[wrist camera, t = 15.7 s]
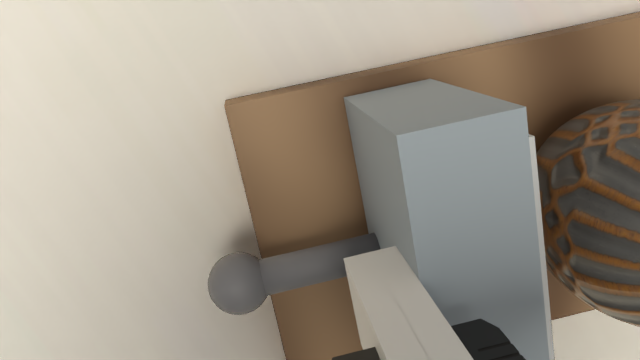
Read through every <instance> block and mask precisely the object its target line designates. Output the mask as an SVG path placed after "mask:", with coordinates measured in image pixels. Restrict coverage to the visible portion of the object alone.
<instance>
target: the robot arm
mask: <svg viewBox="0 0 640 360" xmlns="http://www.w3.org/2000/svg"><path fill="white" fill-rule="evenodd" d="M343 259H344V263H345V268H346V273H347V278H348V283H349V288H350V293H351V298H352V303H353V308H354V313H355V318H356V322H357V327H358V332H359V337H360V342H361V346H362V348H363V350H360V351H356V352H352V353H348V354H344V355H340V356H336V357H333V358H332V360H526V359H525V358H524V357H523V356H522V355H520V353H519V351H518V350H517V349H516V347H515V346H514V345H513V344H511V343H510V340H509V339H508V338H507V337H506V336H505V334H504V333H503V332H502V331H501V330H500V328H498V327H496V326H495V325H493V324H491V323H489V322H487V321H485V320H483V319H481V318H480V319H476V320H473V321H469V322H465V323H461V324H457V325H453V326H450V324H449V323H448V322H447V320H446V319H445V317H444V316H443V314H442V313H441V311H440V310H439V308H438V307H437V306H436V304H435V303H434V301H433V300H432V298H431V297H430V295H429V294H428V292H427V291H426V289H425V288H424V287H423V285H422V284H421V282H420V281H419V279H418V278H417V276H416V275H415V273H414V272H413V271H412V269H411V268H410V266H409V265H408V263H407V262H406V260H405V259H404V257H403V256H402V255H401V253H400V252H399V250H398V249H397V247H396V246H393V247H388V248H384V249H380V250H376V251H372V252H368V253H363V254H359V255H355V256H351V257H347V258H343Z"/></svg>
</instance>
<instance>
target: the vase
mask: <svg viewBox="0 0 640 360" xmlns="http://www.w3.org/2000/svg"><path fill="white" fill-rule="evenodd" d="M536 157H537V169H538V180H539V191H540V202H541V213H542V224H543V235H544V246H545V258H546V267H547V269H548V270H549V271H550V272H551V273H552V274H553V275H554V276H555V277H556V279H557V280H558V281H559V282H560V283H561V284H562V285H564V286H565V287H566V288H567V289H568V290H569V291H570V292H572V293H573V294H574V295H575V296H577V297H578V298H579V299H581V300H582V301H583V302H585V303H586V304H588V305H589V306H591V307H593V308H595V309H596V310H598V311H600V312H602V313H604V314H606V315H608V316H610V317H613V318H615V319H618V320H620V321H623V322H626V323H629V324H632V325H635V326H638V327H640V99H634V100H626V101H619V102H614V103H610V104H606V105H603V106H599V107H596V108H593V109H591V110H588V111H586V112H584V113H582V114H580V115H578V116H576V117H574V118H572V119H571V120H569V121H568V122H566V123H565V124H563V125H562V126H561V127H559V128H558V129H557V130H556V131H555V132H554V133H553V134H552V135H551V136H550V137H549V138H548V139H547V140H546V141H545V142H544V143H543V145H542V146H541V147H540V149H539V150H538V152H537V153H536Z"/></svg>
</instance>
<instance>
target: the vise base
mask: <svg viewBox="0 0 640 360" xmlns="http://www.w3.org/2000/svg"><path fill="white" fill-rule="evenodd" d="M426 79H433V80H437V81H440V82H443V83H447V84H450V85H454V86H457V87H460V88H464V89H467V90H471V91H474V92H477V93H481V94H484V95H488V96H491V97H494V98H498V99H501V100H505V101H508V102H511V103H515V104H518V105H522V106H525V107H526V112H527V123H528V134H530V135H533V136H535V146H536V153H537V152H538V150H539V149H540V147H541V146H542V145H543V143H544V142H545V141H546V140H547V139H548V138H549V137H550V136H551V135H552V134H553V133H554V132H555V131H556V130H557V129H558V128H559V127H561V126H562V125H563V124H565V123H566V122H568V121H569V120H571V119H572V118H574V117H576V116H578V115H580V114H582V113H584V112H586V111H588V110H591V109H593V108H596V107H599V106H603V105H606V104H610V103H614V102H619V101H626V100H634V99H640V12H637V13H632V14H627V15H623V16H618V17H613V18H609V19H604V20H599V21H595V22H590V23H585V24H580V25H576V26H571V27H566V28H562V29H557V30H552V31H548V32H543V33H538V34H534V35H529V36H524V37H520V38H515V39H510V40H505V41H501V42H496V43H491V44H487V45H482V46H477V47H473V48H468V49H463V50H459V51H454V52H449V53H445V54H440V55H435V56H430V57H426V58H421V59H416V60H412V61H407V62H402V63H398V64H393V65H388V66H384V67H379V68H374V69H370V70H365V71H360V72H355V73H351V74H346V75H341V76H337V77H332V78H327V79H323V80H318V81H313V82H309V83H304V84H299V85H295V86H290V87H285V88H280V89H276V90H271V91H266V92H262V93H257V94H252V95H248V96H243V97H238V98H234V99H229V100H226V101H225V110H226V114H227V119H228V123H229V127H230V131H231V135H232V139H233V143H234V147H235V151H236V155H237V160H238V164H239V168H240V172H241V176H242V180H243V184H244V188H245V192H246V196H247V200H248V205H249V209H250V213H251V217H252V221H253V225H254V229H255V233H256V237H257V241H258V245H259V250H260V254H261V258H262V259H264V258H268V257H272V256H276V255H281V254H285V253H289V252H293V251H298V250H302V249H306V248H310V247H315V246H319V245H323V244H327V243H332V242H336V241H340V240H344V239H349V238H353V237H357V236H361V235H366V234H369V233H368V228H367V222H366V217H365V211H364V206H363V200H362V195H361V189H360V184H359V179H358V173H357V168H356V162H355V157H354V151H353V146H352V140H351V135H350V130H349V124H348V119H347V113H346V108H345V102H344V97H348V96H352V95H357V94H362V93H366V92H371V91H375V90H380V89H385V88H389V87H394V86H398V85H403V84H408V83H412V82H417V81H422V80H426ZM546 269H547V267H546ZM547 280H548V291H549V302H550V313H551V320H554V319H558V318H562V317H566V316H570V315H574V314H578V313H582V312H586V311H590V310H594V309H595V308H593V307H591V306H589V305H588V304H586V303H585V302H583V301H582V300H581V299H579V298H578V297H577V296H575V295H574V294H573V293H572V292H570V291H569V290H568V289H567V288H566V287H565V286H564V285H562V284H561V283H560V282H559V281H558V280H557V279H556V277H555V276H554V275H553V274H552V273H551V272H550V271H549V270H548V269H547ZM271 299H272V303H273V307H274V311H275V315H276V319H277V323H278V327H279V331H280V336H281V340H282V344H283V348H284V352H285V356H286V360H332V358H333V357H336V356H340V355H344V354H348V353H352V352H356V351H360V350H363V348H362V346H361V342H360V337H359V332H358V327H357V322H356V318H355V313H354V308H353V303H352V298H351V293H350V288H349V283H348V278H347V277H343V278H339V279H335V280H330V281H326V282H322V283H318V284H314V285H310V286H305V287H301V288H297V289H293V290H289V291H284V292H280V293H276V294H272V295H271Z"/></svg>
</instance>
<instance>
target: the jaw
mask: <svg viewBox="0 0 640 360" xmlns="http://www.w3.org/2000/svg"><path fill="white" fill-rule="evenodd" d="M344 102H345V108H346V113H347V119H348V124H349V130H350V135H351V140H352V146H353V151H354V157H355V162H356V168H357V173H358V179H359V184H360V189H361V195H362V200H363V206H364V211H365V217H366V222H367V228H368V233H369V234H366V235H361V236H357V237H353V238H349V239H344V240H340V241H336V242H332V243H327V244H323V245H319V246H315V247H310V248H306V249H302V250H298V251H293V252H289V253H285V254H281V255H276V256H272V257H268V258H264V259H258V258H256V257H255V256H253V255H251V254H248V253H242V252H237V253H231V254H228V255H226V256H224V257H223V258H221V259H220V260H219V261H218V262H217V263H216V264H215V265H214V266H213V268H212V270H211V272H210V274H209V278H208V290H209V294H210V297H211V299H212V301H213V302H214V303H215V304H216V306H217V307H219V308H220V309H221V310H223V311H225V312H227V313H230V314H235V315H241V314H246V313H249V312H252V311H254V310H255V309H257V308H258V307H259V306H260V305H261V304H262V303H263V302H264V300H265V299H266V297H267V296H268V295H272V294H276V293H280V292H284V291H289V290H293V289H297V288H301V287H305V286H310V285H314V284H318V283H322V282H326V281H330V280H335V279H339V278H343V277H347V273H346V268H345V263H344V259H343V258H347V257H351V256H355V255H359V254H363V253H368V252H372V251H376V250H380V249H384V248H388V247H393V246H396V247H397V249H398V250H399V252H400V253H401V255H402V256H403V257H404V259H405V260H406V262H407V263H408V265H409V266H410V268H411V269H412V271H413V272H414V273H415V275H416V276H417V278H418V279H419V281H420V282H421V284H422V285H423V287H424V288H425V289H426V291H427V292H428V294H429V295H430V297H431V298H432V300H433V301H434V303H435V304H436V306H437V307H438V308H439V310H440V311H441V313H442V314H443V316H444V317H445V319H446V320H447V322H448V323H449V324H450V326H453V325H457V324H461V323H465V322H469V321H473V320H476V319H480V318H481V319H483V320H485V321H487V322H489V323H491V324H493V325H495V326H496V327H498V328H500V330H501V331H502V332H503V333H504V334H505V336H506V337H507V338H508V339H509V340H510V343H511V344H513V345H514V346H515V347H516V349H517V350H518V351H519V353H520V355H522V356H523V357H524V358H525V359H526V360H555V358H554V347H553V335H552V324H551V313H550V302H549V291H548V280H547V269H546V258H545V246H544V235H543V224H542V213H541V202H540V191H539V180H538V169H537V157H536V146H535V136H533V135H530V134H528V123H527V112H526V107H525V106H522V105H518V104H515V103H511V102H508V101H505V100H501V99H498V98H494V97H491V96H488V95H484V94H481V93H477V92H474V91H471V90H467V89H464V88H460V87H457V86H454V85H450V84H447V83H443V82H440V81H437V80H433V79H426V80H422V81H417V82H412V83H408V84H403V85H398V86H394V87H389V88H385V89H380V90H375V91H371V92H366V93H362V94H357V95H352V96H348V97H344Z"/></svg>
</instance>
